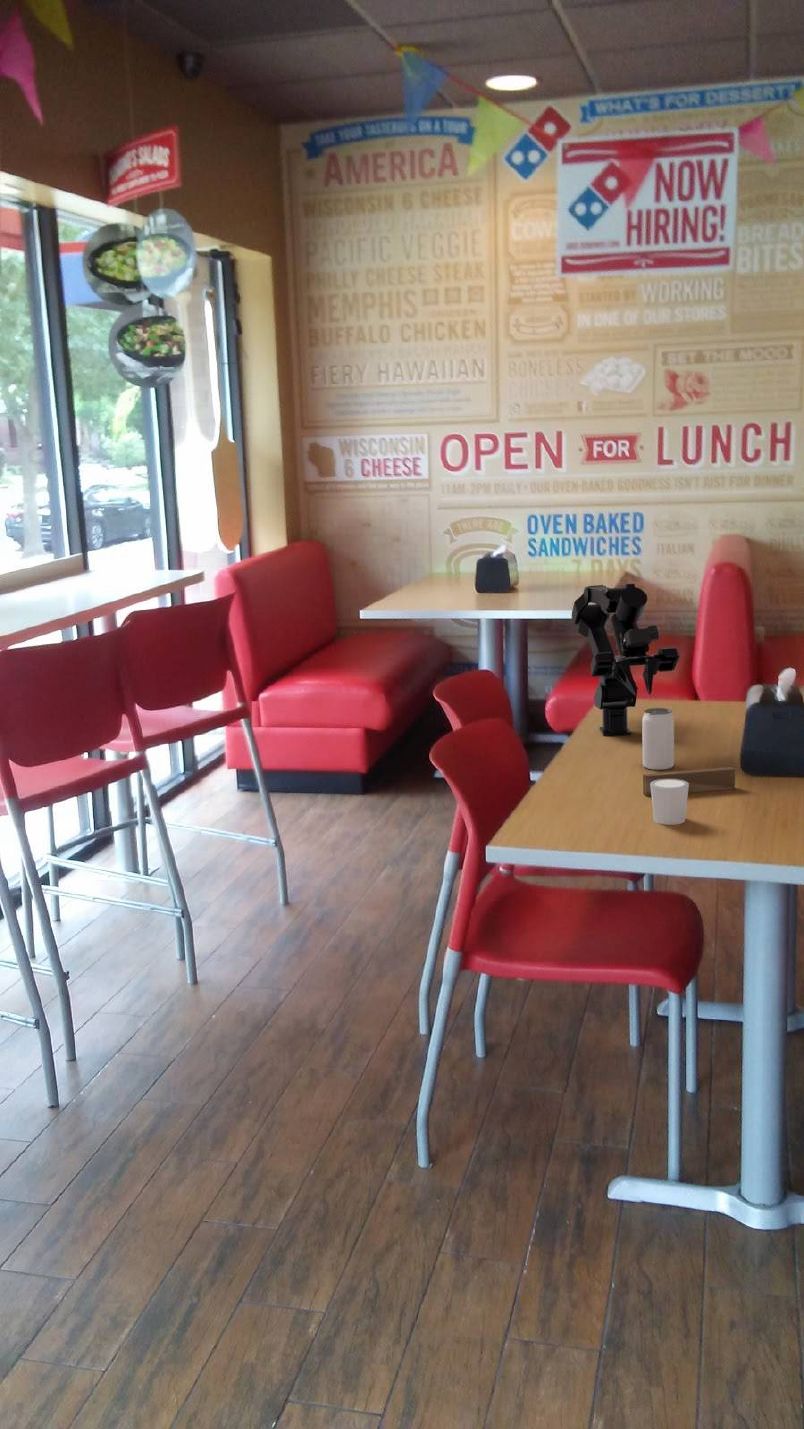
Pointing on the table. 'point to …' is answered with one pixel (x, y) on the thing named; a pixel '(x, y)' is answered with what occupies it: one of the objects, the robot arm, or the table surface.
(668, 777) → the rail
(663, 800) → the white cup
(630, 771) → the table surface
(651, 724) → the can
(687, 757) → the table surface
